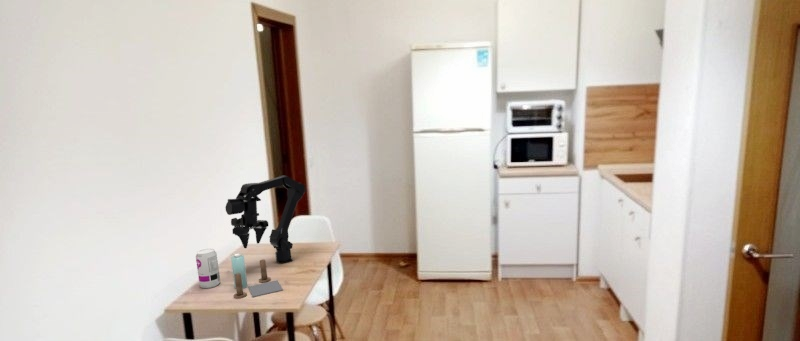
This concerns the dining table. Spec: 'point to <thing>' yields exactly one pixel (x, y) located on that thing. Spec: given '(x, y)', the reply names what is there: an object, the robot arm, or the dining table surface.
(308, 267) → the dining table surface
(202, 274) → the supplement can
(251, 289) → the charcoal rubber mat
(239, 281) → the walnut gate posts
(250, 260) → the dining table surface
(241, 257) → the teal bottle
